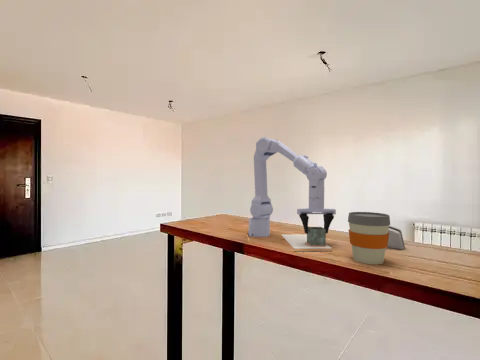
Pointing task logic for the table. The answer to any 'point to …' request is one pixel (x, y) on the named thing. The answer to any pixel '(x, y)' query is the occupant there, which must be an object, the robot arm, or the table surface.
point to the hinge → (395, 238)
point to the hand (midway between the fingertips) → (316, 233)
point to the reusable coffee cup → (368, 236)
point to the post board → (302, 242)
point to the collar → (316, 236)
